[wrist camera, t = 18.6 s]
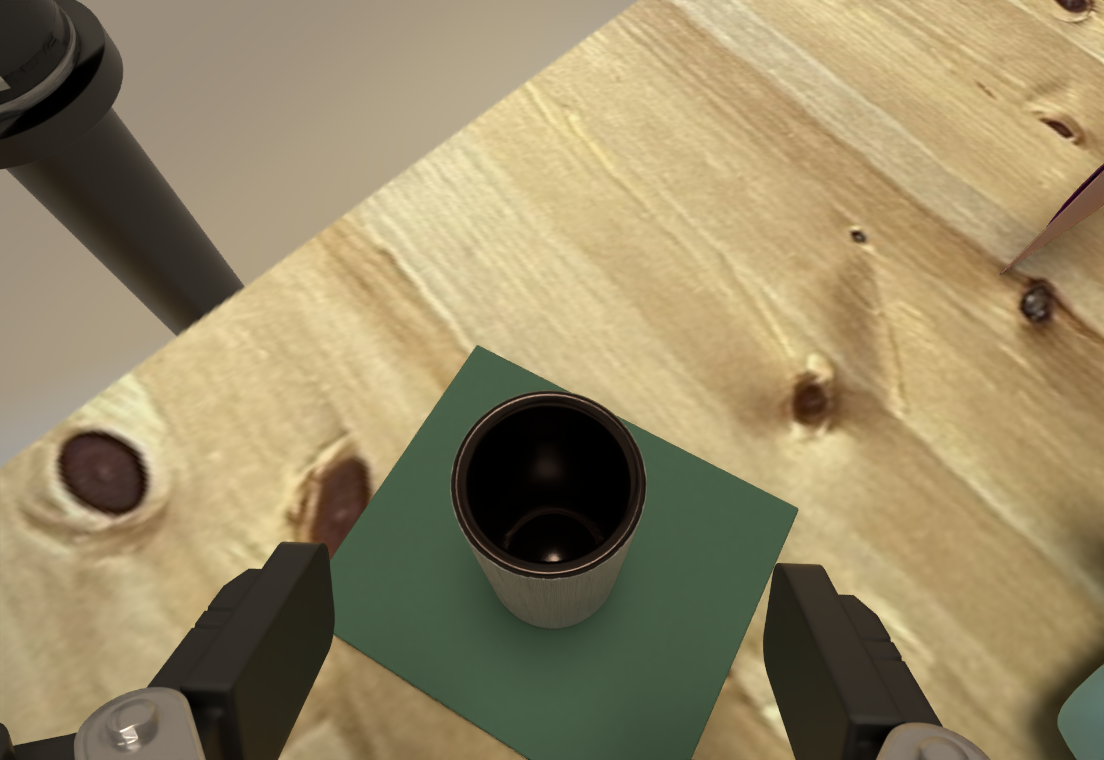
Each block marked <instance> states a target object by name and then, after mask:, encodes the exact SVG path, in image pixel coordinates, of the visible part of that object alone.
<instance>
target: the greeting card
mask: <svg viewBox="0 0 1104 760" xmlns="http://www.w3.org/2000/svg"><path fill="white" fill-rule="evenodd" d="M1103 205H1104V164H1103V165H1102V166H1100V167H1099V168H1098V169H1097V170H1096V171H1095V172H1094V173H1093V174H1092V175H1091V176H1090V177H1089V178H1088V179H1087V180H1086V181H1085V182H1084V183H1083V184H1082V185H1081V186H1080V187H1079V188H1078V189H1077V190H1076V191H1075V192H1074V193H1073V195H1072V196H1071V197H1070V198H1069V199H1068V200H1067V201H1066V202H1065V203H1064V205H1063V206H1062V207H1061V208H1060V210H1059V211H1058V212H1057V214H1056V215H1055V216H1054V217H1053V219H1052V220H1051V221H1050V223H1049V224H1048V225H1047V227H1046V228H1045V229H1044V230H1043V231H1042V232H1041V233H1040V234H1039V235H1038V236H1037V237H1036V238H1035V239H1034V240H1033V241H1032V242H1031V243H1030V244H1029V245H1028V246H1027V247H1026V248H1025V249H1024V250H1023V251H1022V252H1021V253H1020V254H1019V255H1018V256H1017V257H1016V258H1015V259H1014V260H1013V261H1012V262H1011V263H1010V264H1009V265H1008V266H1007V267H1006V268H1005V269H1004V270H1003V271H1002V272H1001V273H1000V274H1002V273H1004V272H1005V271H1007V270H1008V269H1010V268H1011V267H1013V266H1014V265H1016V264H1017V263H1019V262H1020V261H1022V260H1023V259H1024V258H1026V257H1027V256H1029V255H1030V254H1032V253H1033V252H1035V251H1036V250H1038V249H1039V248H1041V247H1042V246H1044V245H1045V244H1047V243H1048V242H1050V241H1051V240H1053V239H1054V238H1056V237H1057V236H1059V235H1060V234H1062V233H1063V232H1065V231H1066V230H1068V229H1069V228H1071V227H1072V226H1074V225H1075V224H1077V223H1078V222H1079V221H1081V220H1082V219H1084V218H1085V217H1087V216H1088V215H1090V214H1091V213H1093V212H1094V211H1096V210H1097V209H1099V208H1100V207H1102V206H1103Z"/></svg>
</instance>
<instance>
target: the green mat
mask: <svg viewBox="0 0 1104 760" xmlns="http://www.w3.org/2000/svg"><path fill="white" fill-rule="evenodd" d="M543 390H555V391H564V392H569V391H567V390H565V389H563V388H561V387H559V386H557V385H555V384H553V383H551V382H549V381H547V380H545V379H543V378H541V377H539V376H537V375H535V374H533V373H532V372H530V371H528V370H526V369H524V368H522V367H520V366H518V365H516V364H514V363H512V362H510V361H508V360H506V359H504V358H502V357H500V356H498V355H496V354H494V353H492V352H490V351H488V350H486V349H484V348H482V347H481V346H479V345H477V346H476V347H475V349H474V350H473V352H472V353H471V354H470V356H469V357H468V359H467V360H466V362H465V363H464V365H463V366H462V368H461V369H460V371H459V372H458V374H457V375H456V376H455V378H454V379H453V381H452V382H451V384H450V385H449V387H448V388H447V390H446V391H445V393H444V394H443V396H442V397H441V398H440V400H439V401H438V403H437V404H436V406H435V407H434V409H433V410H432V412H431V413H430V415H429V416H428V418H427V419H426V420H425V422H424V423H423V425H422V426H421V428H420V429H419V431H418V432H417V434H416V435H415V437H414V438H413V440H412V441H411V442H410V444H409V445H408V447H407V448H406V450H405V451H404V453H403V454H402V456H401V457H400V459H399V460H398V462H397V463H396V464H395V466H394V467H393V469H392V470H391V472H390V473H389V475H388V476H387V478H386V479H385V481H384V482H383V484H382V485H381V486H380V488H379V489H378V491H377V492H376V494H375V495H374V497H373V498H372V500H371V501H370V503H369V504H368V506H367V507H366V508H365V510H364V511H363V513H362V514H361V516H360V517H359V519H358V520H357V522H356V523H355V525H354V526H353V528H352V529H351V530H350V532H349V533H348V535H347V536H346V538H345V539H344V541H343V542H342V544H341V545H340V547H339V548H338V550H337V551H336V552H335V554H334V555H333V557H332V558H331V560H330V570H331V580H332V590H333V601H334V611H335V626H334V635H336V636H337V637H339V638H341V639H342V640H344V641H345V642H347V643H348V644H350V645H351V646H353V647H355V648H356V649H358V650H359V651H361V652H362V653H364V654H365V655H367V656H369V657H370V658H372V659H373V660H375V661H376V662H378V663H379V664H381V665H383V666H384V667H386V668H387V669H389V670H390V671H392V672H393V673H395V674H397V675H398V676H400V677H401V678H403V679H404V680H406V681H407V682H409V683H411V684H412V685H414V686H415V687H417V688H418V689H420V690H421V691H423V692H425V693H426V694H428V695H429V696H431V697H432V698H434V699H435V700H437V701H439V702H440V703H442V704H443V705H445V706H446V707H448V708H449V709H451V710H453V711H454V712H456V713H457V714H459V715H460V716H462V717H463V718H465V719H467V720H468V721H470V722H471V723H473V724H474V725H476V726H477V727H479V728H481V729H482V730H484V731H485V732H487V733H488V734H490V735H491V736H493V737H495V738H496V739H498V740H499V741H501V742H502V743H504V744H505V745H507V746H509V747H510V748H512V749H513V750H515V751H516V752H518V753H519V754H521V755H523V756H524V757H526V758H527V759H529V760H691V758H692V756H693V754H694V751H695V749H696V747H697V744H698V742H699V740H700V737H701V735H702V733H703V730H704V728H705V726H706V723H707V721H708V719H709V716H710V714H711V712H712V710H713V707H714V705H715V703H716V700H717V698H718V696H719V693H720V691H721V689H722V686H723V684H724V682H725V679H726V677H727V675H728V672H729V670H730V668H731V665H732V663H733V661H734V659H735V656H736V654H737V652H738V649H739V647H740V645H741V642H742V640H743V638H744V635H745V633H746V631H747V628H748V626H749V624H750V621H751V619H752V617H753V614H754V612H755V610H756V608H757V605H758V603H759V601H760V598H761V596H762V594H763V591H764V589H765V587H766V584H767V582H768V580H769V577H770V575H771V573H772V570H773V568H774V566H775V563H776V561H777V559H778V556H779V554H780V552H781V550H782V547H783V545H784V543H785V540H786V538H787V536H788V533H789V531H790V529H791V526H792V524H793V522H794V519H795V517H796V515H797V512H798V508H796V507H794V506H792V505H791V504H789V503H787V502H785V501H783V500H781V499H779V498H777V497H775V496H773V495H771V494H769V493H767V492H765V491H763V490H761V489H759V488H757V487H755V486H753V485H751V484H749V483H747V482H745V481H743V480H741V479H739V478H738V477H736V476H734V475H732V474H730V473H728V472H726V471H724V470H722V469H720V468H718V467H716V466H714V465H712V464H710V463H708V462H706V461H704V460H702V459H700V458H698V457H696V456H694V455H692V454H690V453H688V452H687V451H685V450H683V449H681V448H679V447H677V446H675V445H673V444H671V443H669V442H667V441H665V440H663V439H661V438H659V437H657V436H655V435H653V434H651V433H649V432H647V431H645V430H643V429H641V428H639V427H637V426H636V425H634V424H632V423H630V422H628V421H626V420H624V419H622V418H620V417H618V416H617V417H618V418H619V419H620V420H621V421H622V422H623V424H624V425H625V426H626V427H627V428H628V430H629V431H630V433H631V434H632V436H633V437H634V439H635V441H636V443H637V445H638V447H639V449H640V452H641V454H642V457H643V461H644V465H645V469H646V477H647V493H646V500H645V505H644V509H643V513H642V516H641V519H640V522H639V524H638V527H637V529H636V532H635V534H634V537H633V539H632V542H631V544H630V547H629V549H628V552H627V554H626V556H625V559H624V561H623V564H622V566H621V569H620V571H619V574H618V576H617V579H616V581H615V583H614V586H613V588H612V590H611V593H610V594H609V596H608V598H607V599H606V601H605V602H604V603H603V605H602V606H601V607H600V608H599V609H598V610H597V611H596V612H595V613H594V614H593V615H591V616H590V617H589V618H587V619H585V620H584V621H582V622H580V623H578V624H575V625H572V626H569V627H565V628H557V629H549V628H541V627H537V626H534V625H531V624H528V623H526V622H524V621H522V620H521V619H519V618H518V617H516V616H515V615H514V614H512V613H511V612H510V611H509V610H508V609H507V608H506V607H505V606H504V605H503V603H502V602H501V601H500V599H499V598H498V596H497V595H496V593H495V591H494V589H493V587H492V585H491V584H490V582H489V580H488V578H487V576H486V574H485V573H484V571H483V569H482V567H481V565H480V564H479V562H478V560H477V558H476V556H475V554H474V553H473V551H472V549H471V547H470V545H469V543H468V542H467V540H466V538H465V536H464V534H463V532H462V531H461V529H460V526H459V524H458V522H457V519H456V516H455V514H454V510H453V506H452V501H451V492H450V481H451V472H452V466H453V462H454V459H455V456H456V453H457V450H458V448H459V446H460V444H461V442H462V440H463V438H464V437H465V435H466V434H467V432H468V431H469V429H470V428H471V427H472V426H473V425H474V423H475V422H476V421H477V420H478V419H479V418H480V417H481V416H483V415H484V414H485V413H486V412H487V411H489V410H490V409H491V408H493V407H494V406H496V405H497V404H499V403H501V402H503V401H505V400H507V399H509V398H512V397H514V396H517V395H520V394H524V393H528V392H534V391H543ZM570 393H571V392H570ZM615 416H616V415H615Z"/></svg>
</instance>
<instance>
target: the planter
mask: <svg viewBox="0 0 1104 760" xmlns="http://www.w3.org/2000/svg"><path fill="white" fill-rule="evenodd" d="M450 492H451V501H452V506H453V510H454V514H455V516H456V519H457V522H458V524H459V526H460V529H461V531H462V532H463V534H464V536H465V538H466V540H467V542H468V543H469V545H470V547H471V549H472V551H473V553H474V554H475V556H476V558H477V560H478V562H479V564H480V565H481V567H482V569H483V571H484V573H485V574H486V576H487V578H488V580H489V582H490V584H491V585H492V587H493V589H494V591H495V593H496V595H497V596H498V598H499V599H500V601H501V602H502V603H503V605H504V606H505V607H506V608H507V609H508V610H509V611H510V612H511V613H512V614H514V615H515V616H516V617H518V618H519V619H521V620H522V621H524V622H526V623H528V624H531V625H534V626H537V627H541V628H549V629H557V628H565V627H569V626H572V625H575V624H578V623H580V622H582V621H584V620H585V619H587V618H589V617H590V616H591V615H593V614H594V613H595V612H596V611H597V610H598V609H599V608H600V607H601V606H602V605H603V603H604V602H605V601H606V599H607V598H608V596H609V594H610V593H611V590H612V588H613V586H614V583H615V581H616V579H617V576H618V574H619V571H620V569H621V566H622V564H623V561H624V559H625V556H626V554H627V552H628V549H629V547H630V544H631V542H632V539H633V537H634V534H635V532H636V529H637V527H638V524H639V522H640V519H641V516H642V513H643V509H644V505H645V500H646V493H647V477H646V469H645V465H644V461H643V457H642V454H641V452H640V449H639V447H638V445H637V443H636V441H635V439H634V437H633V436H632V434H631V433H630V431H629V430H628V428H627V427H626V426H625V425H624V424H623V422H622V421H621V420H620V419H619V418H618V417H617V416H615V415H614V414H613V413H612V412H611V411H609V410H608V409H607V408H605V407H604V406H602V405H601V404H599V403H597V402H595V401H593V400H591V399H589V398H586V397H584V396H581V395H578V394H574V393H570V392H564V391H555V390H543V391H534V392H528V393H524V394H520V395H517V396H514V397H512V398H509V399H507V400H505V401H503V402H501V403H499V404H497V405H496V406H494V407H493V408H491V409H490V410H489V411H487V412H486V413H485V414H484V415H483V416H481V417H480V418H479V419H478V420H477V421H476V422H475V423H474V425H473V426H472V427H471V428H470V429H469V431H468V432H467V434H466V435H465V437H464V438H463V440H462V442H461V444H460V446H459V448H458V450H457V453H456V456H455V459H454V462H453V466H452V472H451V481H450Z"/></svg>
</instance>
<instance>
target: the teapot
mask: <svg viewBox="0 0 1104 760" xmlns="http://www.w3.org/2000/svg"><path fill="white" fill-rule="evenodd" d="M1058 728H1059V730H1060V732H1061V734H1062V736H1063V738H1064V740H1065V742H1066V744H1067V746H1068V747H1069V749H1070V750H1071V752H1072V753H1073V755H1074V756H1075V758H1076V759H1077V760H1104V664H1103V665H1102V666H1101V667H1099V668H1098V669H1097V670H1096V671H1095V672H1094V673H1093V674H1092V675H1090V676H1089V677H1088V678H1087V679H1086V680H1085V681H1084V682H1083V683H1082V684H1081V685H1080V686H1079V687H1078V688H1077V689H1076V690H1075V691H1074V692H1073V693H1072V694H1071V696H1070V697H1069V698H1068V699H1067V701H1066V702H1065V703H1064V704H1063V706H1062V708H1061V710H1060V713H1059V715H1058Z"/></svg>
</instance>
